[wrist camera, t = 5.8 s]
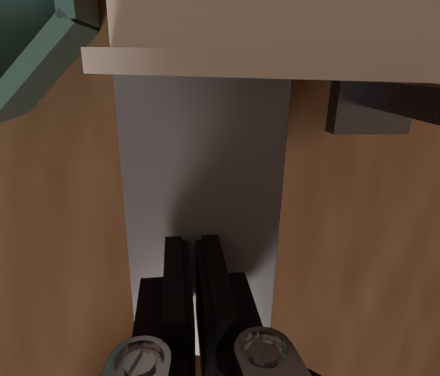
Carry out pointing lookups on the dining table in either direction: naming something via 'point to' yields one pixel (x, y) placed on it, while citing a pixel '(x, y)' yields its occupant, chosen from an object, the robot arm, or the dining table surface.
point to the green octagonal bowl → (39, 47)
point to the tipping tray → (235, 111)
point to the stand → (380, 106)
